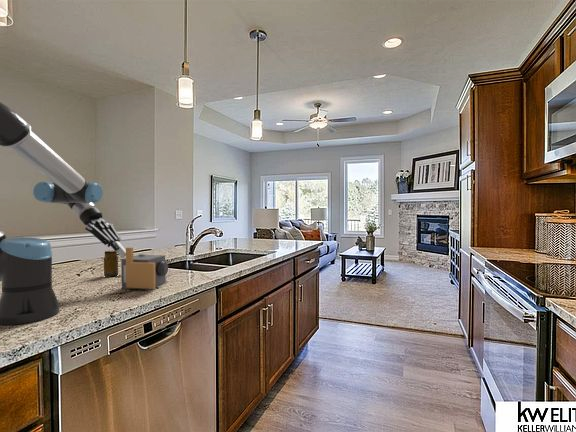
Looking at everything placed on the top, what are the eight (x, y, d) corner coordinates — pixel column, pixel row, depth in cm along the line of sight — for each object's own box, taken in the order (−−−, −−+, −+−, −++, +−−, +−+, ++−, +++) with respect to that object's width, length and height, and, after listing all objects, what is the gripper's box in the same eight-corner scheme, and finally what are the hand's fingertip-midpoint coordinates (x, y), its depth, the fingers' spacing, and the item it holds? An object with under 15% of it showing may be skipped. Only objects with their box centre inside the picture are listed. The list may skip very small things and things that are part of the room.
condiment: (106, 274, 155) (106, 250, 155) (125, 274, 157) (124, 249, 156) (100, 277, 148) (100, 252, 148) (120, 277, 149) (119, 251, 149)
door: (153, 288, 123) (153, 248, 123) (126, 287, 126) (125, 247, 125) (155, 288, 125) (155, 248, 124) (128, 286, 127) (127, 247, 126)
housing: (153, 290, 125) (152, 257, 125) (121, 288, 128) (121, 257, 127) (169, 283, 137) (169, 253, 137) (140, 281, 140) (140, 252, 139)
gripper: (94, 218, 136) (129, 259, 134) (68, 219, 123) (107, 264, 121) (105, 206, 135) (141, 246, 133) (80, 206, 122) (119, 251, 120)
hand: (124, 255), depth 127 cm, fingers closed
